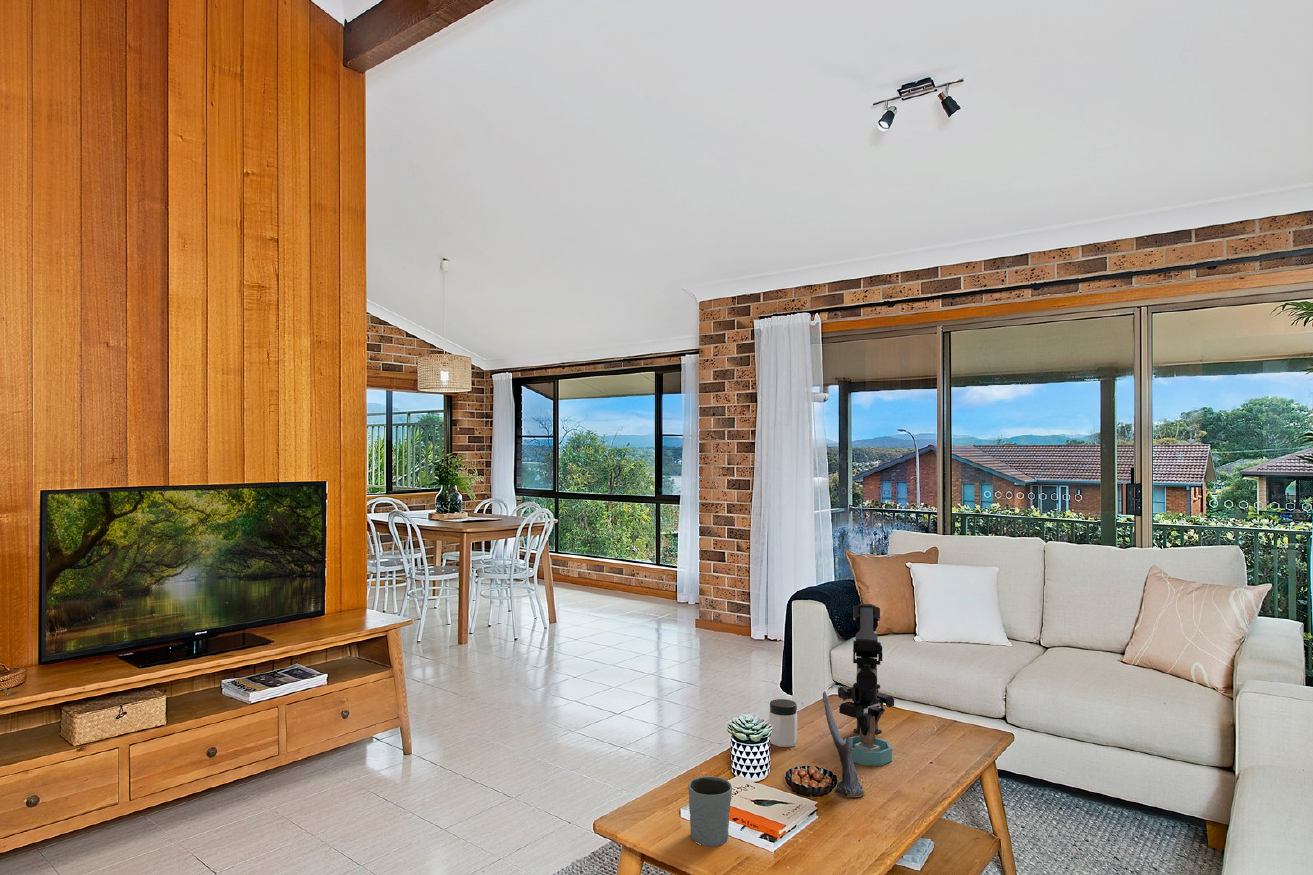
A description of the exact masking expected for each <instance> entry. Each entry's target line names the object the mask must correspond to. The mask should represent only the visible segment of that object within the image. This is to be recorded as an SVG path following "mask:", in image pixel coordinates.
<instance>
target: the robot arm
mask: <svg viewBox="0 0 1313 875" xmlns="http://www.w3.org/2000/svg"><path fill="white" fill-rule="evenodd" d="M852 607H853V611H852V612H853V615H852V616H853V618H852V619H853V621H855V626H856V627H857V629H858V631H857V632H856V633H855V640H853V642H852V644H853V645H852V647H853V648H852V660H853V662H852V663H853V664H856V678H855V680H856V682H854V683H853V685H852V686H850V687H847V686H846V685H844V686H840V687H839V686H838V687H837V696H838V698H839V699H841V700H842V701H843V702H842V703H840V704H839V706H838V713H839V714H841V715H845V716H847V717H851V718H853V719H856V728H854V729H853V732H855V733H859V734H860V729H861V732H862V734H863V735H864V736H866V735H867V732H868V727H869V723H870V719H871V715H872V716H875V735H877V734H880V733H883V730H881V729H879V726H878V725H879V724H878V723H879V721H880V719H881V717H882V715H884V712H886V710H885V709H884V704H885V706H886V707H887V708H892V707H895V699H894V697H893V696H892V695H890V694H887V693H883V692H880V691H879V689H881V684H878V666H880V665H881V662H883V645H882V643H881V642H880V641H878V634H877V633H875V632H876V630H877V628H878V626H879V622H881V608H880V607H879V606H876V605H875V604H873V603H860V604H859V603H858V605H855V606H852ZM847 700H848V701H847ZM849 700H851V701H849ZM844 701H845V702H844Z"/></svg>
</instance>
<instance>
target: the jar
mask: <svg viewBox="0 0 1313 875" xmlns="http://www.w3.org/2000/svg"><path fill="white" fill-rule="evenodd" d="M797 706H798V705H797V703H796V702H795V701H794V700H791V699H785V698H783V699H781V698H780V699H779V698H777V699H773V700H770V702H769V712H768V724H769V723H770V724H771V726H773V728H772V733H771V737H770V742H771V743H770V744H771V745H773V746H777V747H779V748H791V747H795V746H796V744H797V743H798V710H797V708H798V707H797Z"/></svg>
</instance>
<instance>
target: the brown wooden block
mask: <svg viewBox="0 0 1313 875" xmlns="http://www.w3.org/2000/svg"><path fill="white" fill-rule="evenodd" d="M859 736H860V742H861V743H863V744H866V745H869V746H871V745H874V744H875V737H876V734H875V716H872V715H871V719H870V723H869V727H868V732H867V735H866V736H864V735H863V734H862V732H861V729H860V733H859Z"/></svg>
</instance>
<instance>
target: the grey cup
mask: <svg viewBox="0 0 1313 875" xmlns="http://www.w3.org/2000/svg"><path fill="white" fill-rule="evenodd" d="M687 785H688V787H687V788H688V804H689V806H688V807H689V808H688V809H689V815H690V816H689V825H690V826H689V827H690V838H691V840H692V841H693V842H694V841H695V842H697V843H699V844H701V845H700V846H702V845H704V846H703V847H718V846H721V845H723V844H726V843H727V841H728V839H729V827H730V813H731V803H732V802H731V801H732V792H733V785H732V784H731V783H730V782H729V781H728V780H726V779H725V778H721V777H717V776H711V775H710V776H699V777H696V778H693V779H691V780H690V781H689V783H688V784H687ZM695 842H694V843H695ZM697 843H696V844H697ZM699 844H698V845H699Z"/></svg>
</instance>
